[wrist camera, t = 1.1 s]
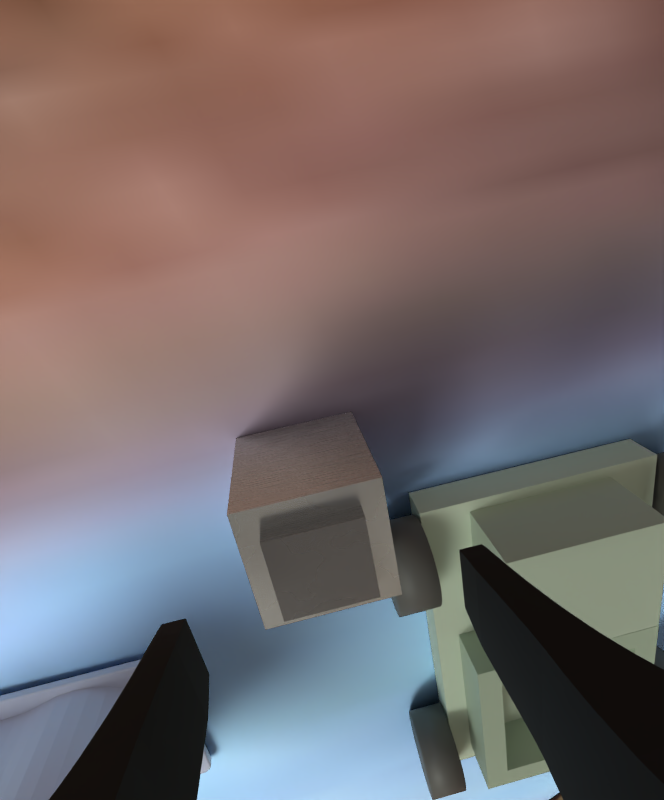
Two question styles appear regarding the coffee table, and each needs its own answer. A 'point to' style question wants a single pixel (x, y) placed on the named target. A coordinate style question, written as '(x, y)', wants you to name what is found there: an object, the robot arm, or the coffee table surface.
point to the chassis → (542, 567)
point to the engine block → (311, 520)
